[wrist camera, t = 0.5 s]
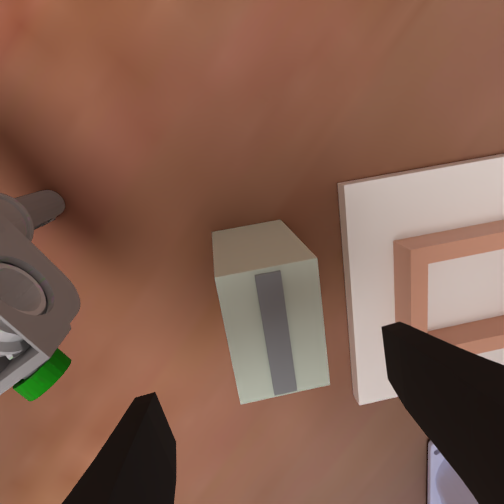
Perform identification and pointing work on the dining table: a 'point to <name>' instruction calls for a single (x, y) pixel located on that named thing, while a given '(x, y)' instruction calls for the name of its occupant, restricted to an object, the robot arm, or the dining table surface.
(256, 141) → the dining table surface
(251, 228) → the striped green box
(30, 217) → the mechanical component
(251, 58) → the dining table surface
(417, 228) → the duct plate
